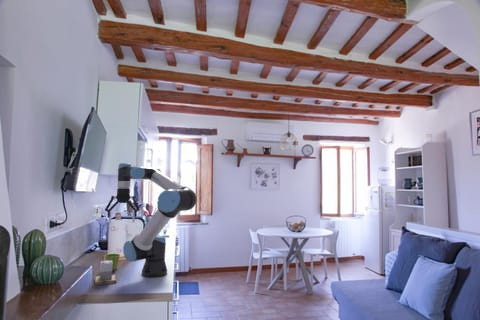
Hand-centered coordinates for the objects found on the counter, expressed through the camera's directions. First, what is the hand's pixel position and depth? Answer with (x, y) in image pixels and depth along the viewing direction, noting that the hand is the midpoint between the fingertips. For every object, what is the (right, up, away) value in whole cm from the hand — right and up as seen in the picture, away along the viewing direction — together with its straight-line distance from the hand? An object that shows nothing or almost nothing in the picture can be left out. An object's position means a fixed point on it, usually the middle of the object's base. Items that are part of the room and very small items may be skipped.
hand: (121, 222), depth 199 cm
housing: (-3, -28, -17) cm, 33 cm away
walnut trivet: (-3, -30, -18) cm, 35 cm away
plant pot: (-9, -31, +6) cm, 33 cm away
